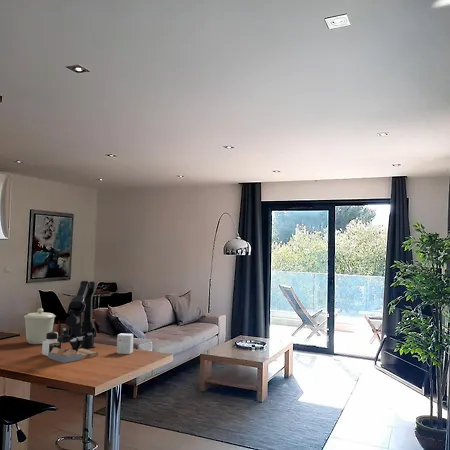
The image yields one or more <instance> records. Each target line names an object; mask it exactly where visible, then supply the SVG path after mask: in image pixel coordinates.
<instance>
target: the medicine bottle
mask: <svg viewBox="0 0 450 450" xmlns="http://www.w3.org/2000/svg"><path fill="white" fill-rule="evenodd" d="M58 337H59V333H58V331H52V332H49V333H47V334H46V340H47V341H43V344H41V345H42V346H41V347H42V348H41V355H42V356H46V357H48V352H51V351H52V349H53V348H54V347H55V348H59V349H61V350H62V343H61V342H57V338H58Z"/></svg>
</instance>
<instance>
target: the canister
mask: <svg viewBox="0 0 450 450" xmlns="http://www.w3.org/2000/svg"><path fill="white" fill-rule="evenodd" d="M36 311H37V312H30V313H27V314H26V315H24V316H23V318H24V321H25V337H26V342H27V343H28V344H29V345H42V344H43V341H47V340H46V334H47V333H49V332H53V330H54V329H53V328H54V322H55V318H56V317H57V315H55V314H54V313H51V312H44V309H43V308H42V307H40V308H38V309H37V310H36Z"/></svg>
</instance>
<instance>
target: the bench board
mask: <svg viewBox="0 0 450 450" xmlns="http://www.w3.org/2000/svg"><path fill="white" fill-rule="evenodd" d="M66 351H67V350H65V352H66ZM77 354H82V355H81V360H83V359H84V358H85V359H90V358H95V357H98V356H99V352H98V351H94V350H90V349H85V348H81V347H80V348H79V349H78V351H77ZM94 356H95V357H94ZM89 357H90V358H89Z"/></svg>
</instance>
